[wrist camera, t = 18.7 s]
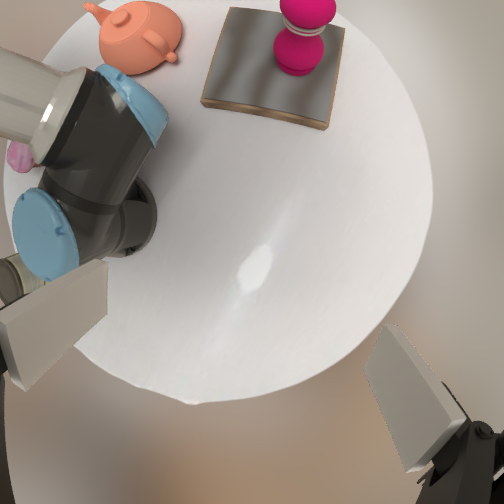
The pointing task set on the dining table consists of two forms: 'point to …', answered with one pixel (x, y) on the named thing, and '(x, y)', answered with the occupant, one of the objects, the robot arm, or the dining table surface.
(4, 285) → the coffee can
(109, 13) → the teapot
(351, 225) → the dining table surface
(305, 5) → the pepper mill
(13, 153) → the cupcake
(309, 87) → the walnut stand
